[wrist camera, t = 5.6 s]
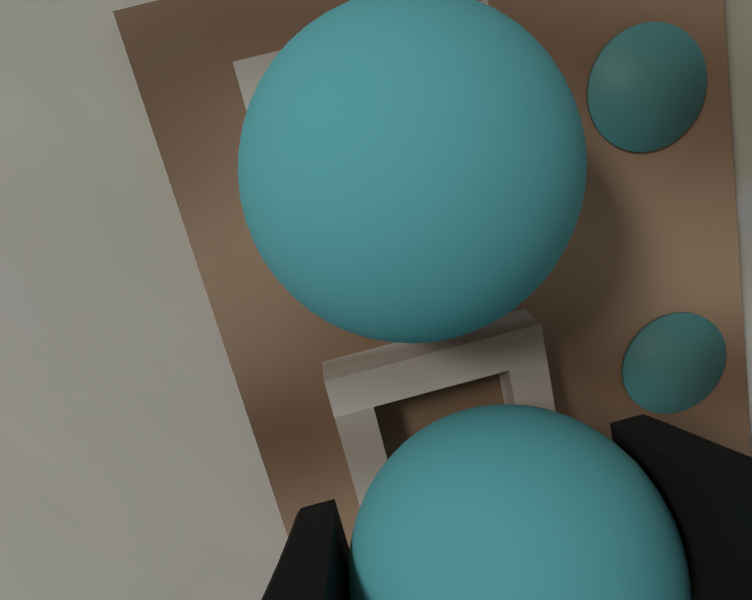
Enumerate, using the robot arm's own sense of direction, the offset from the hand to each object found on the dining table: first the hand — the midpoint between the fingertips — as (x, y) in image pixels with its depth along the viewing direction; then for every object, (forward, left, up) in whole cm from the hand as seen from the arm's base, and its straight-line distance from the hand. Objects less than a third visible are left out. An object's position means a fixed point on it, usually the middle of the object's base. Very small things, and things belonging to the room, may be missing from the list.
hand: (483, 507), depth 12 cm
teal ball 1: (+6, 0, 0) cm, 6 cm away
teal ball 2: (0, 0, +2) cm, 2 cm away
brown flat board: (0, -1, -4) cm, 4 cm away
